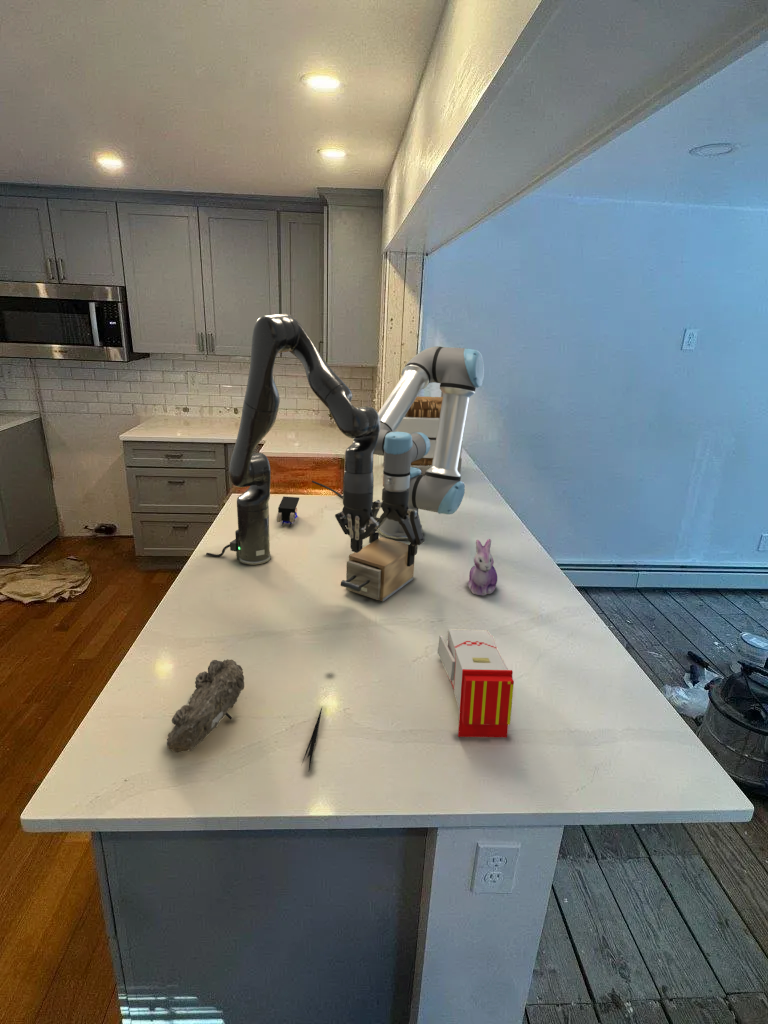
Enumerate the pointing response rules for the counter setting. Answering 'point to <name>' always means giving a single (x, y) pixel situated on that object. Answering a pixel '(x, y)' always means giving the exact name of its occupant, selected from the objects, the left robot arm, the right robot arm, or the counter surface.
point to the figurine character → (287, 510)
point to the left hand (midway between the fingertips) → (356, 551)
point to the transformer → (425, 425)
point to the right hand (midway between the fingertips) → (392, 559)
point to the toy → (478, 682)
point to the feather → (313, 740)
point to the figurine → (483, 571)
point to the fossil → (206, 705)
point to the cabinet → (387, 564)
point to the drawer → (363, 579)
